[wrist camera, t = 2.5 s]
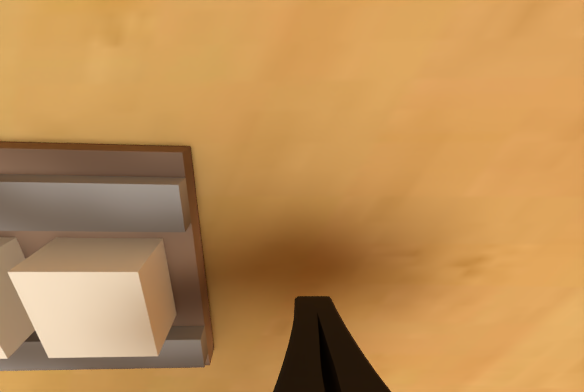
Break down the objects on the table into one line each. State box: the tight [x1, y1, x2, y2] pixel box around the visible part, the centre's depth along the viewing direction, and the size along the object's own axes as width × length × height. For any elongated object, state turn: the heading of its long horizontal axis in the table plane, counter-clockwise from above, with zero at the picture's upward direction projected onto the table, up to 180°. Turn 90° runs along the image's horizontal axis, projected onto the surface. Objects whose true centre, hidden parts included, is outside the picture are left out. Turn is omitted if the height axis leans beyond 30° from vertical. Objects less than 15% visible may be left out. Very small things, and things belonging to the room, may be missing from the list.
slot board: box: [0, 142, 214, 371], centre depth 12 cm, size 12×17×2 cm
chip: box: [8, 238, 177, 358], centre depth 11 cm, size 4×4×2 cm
